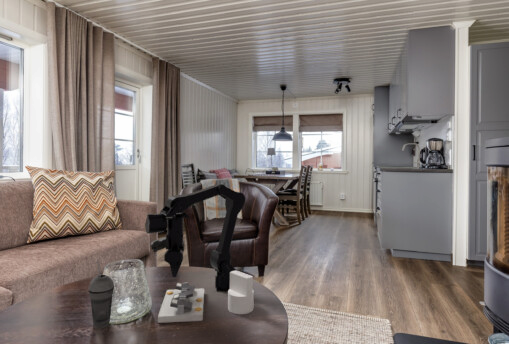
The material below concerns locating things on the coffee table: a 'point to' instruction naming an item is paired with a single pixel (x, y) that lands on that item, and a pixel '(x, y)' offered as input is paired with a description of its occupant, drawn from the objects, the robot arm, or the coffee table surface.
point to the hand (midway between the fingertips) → (175, 272)
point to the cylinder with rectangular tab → (240, 293)
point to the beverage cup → (101, 299)
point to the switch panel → (182, 307)
